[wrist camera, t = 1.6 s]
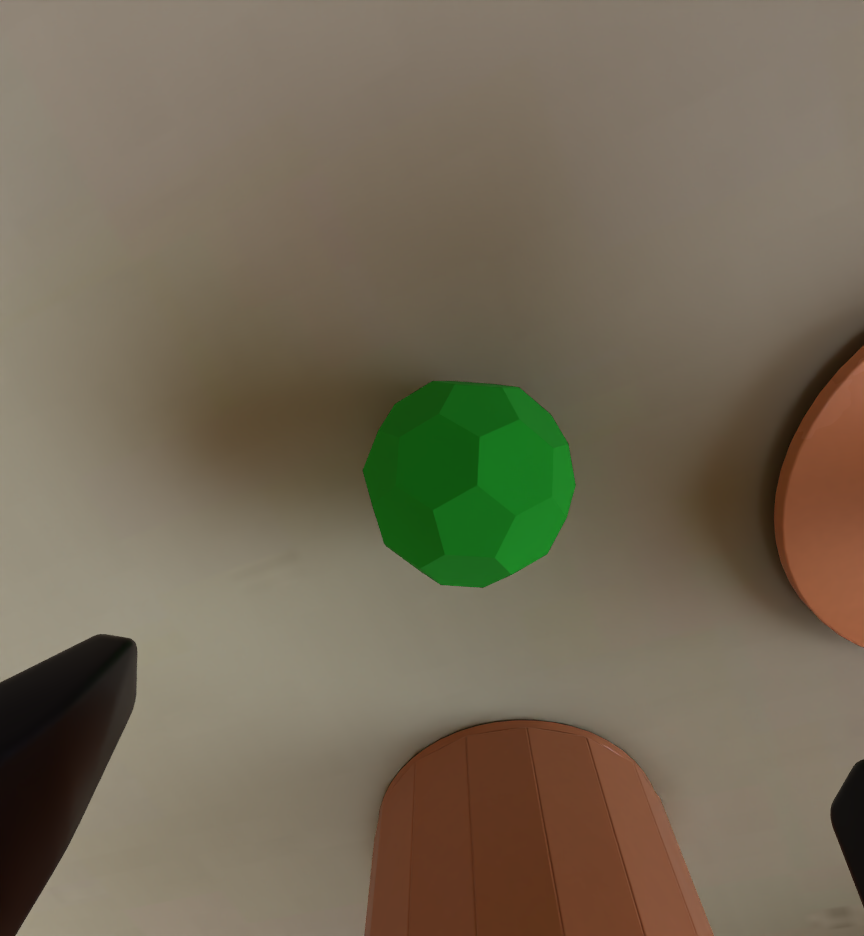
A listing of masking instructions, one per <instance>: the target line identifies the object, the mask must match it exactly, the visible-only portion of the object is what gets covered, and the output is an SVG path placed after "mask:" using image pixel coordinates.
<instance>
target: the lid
mask: <svg viewBox="0 0 864 936" xmlns="http://www.w3.org/2000/svg"><path fill="white" fill-rule="evenodd" d="M774 526H775V539H776V544H777V548H778V553H779V557H780V561H781V564H782V566H783V568H784V571H785V573H786V575H787V578H788V580H789V582H790V584H791V585H792V587H793V588H794V590H795V591H796V593H797V594H798V596H799V597H800V599H801V600H802V601H803V602H804V603H805V604H806V605H807V607H808V608H809V609H810V610H811V611H812V612H813V613H814V614H815V615H816V616H817V617H818V618H819V619H820V620H821V621H822V622H823V623H824V624H826V625H827V626H828V627H829V628H831V629H832V630H833V631H835V632H836V633H837V634H838V635H840V636H842V637H844V638H846V639H847V640H849V641H851V642H853V643H855V644H856V645H858V646H861V647H864V345H863V346H862V347H861V348H860V349H859V350H858V351H857V352H856V353H855V354H854V355H853V356H852V357H851V358H850V359H849V360H848V361H847V362H846V363H845V364H844V365H843V366H842V367H841V368H840V369H839V370H838V371H837V373H836V374H835V375H834V376H833V377H832V379H831V380H830V381H829V382H828V384H827V385H826V386H825V387H824V388H823V390H822V391H821V392H820V393H819V395H818V396H817V398H816V399H815V401H814V402H813V404H812V405H811V407H810V408H809V410H808V412H807V413H806V415H805V416H804V418H803V419H802V421H801V423H800V425H799V427H798V429H797V431H796V433H795V435H794V437H793V439H792V441H791V443H790V446H789V448H788V451H787V454H786V457H785V460H784V462H783V465H782V468H781V471H780V476H779V481H778V485H777V490H776V495H775V509H774Z"/></svg>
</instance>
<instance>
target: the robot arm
mask: <svg viewBox="0 0 864 936" xmlns="http://www.w3.org/2000/svg"><path fill="white" fill-rule="evenodd" d="M136 682H137V646H136V643H135V642H134V641H133V640H132V639H130V638H125V637H119V636H113V635H107V634H99V635H96V636H93V637H91V638H89V639H87V640H85V641H83V642H81V643H79V644H77V645H75V646H73V647H71V648H69V649H67V650H65V651H63V652H61V653H59V654H57V655H55V656H53V657H51V658H49V659H47V660H45V661H43V662H41V663H39V664H37V665H35V666H33V667H31V668H29V669H27V670H25V671H23V672H21V673H19V674H17V675H15V676H13V677H11V678H9V679H6V680H4V681H2V682H0V936H15V935H16V934H17V932H18V930H19V929H20V927H21V925H22V924H23V922H24V920H25V919H26V917H27V915H28V914H29V912H30V910H31V909H32V907H33V905H34V904H35V902H36V900H37V899H38V897H39V895H40V894H41V892H42V890H43V889H44V887H45V885H46V884H47V882H48V880H49V879H50V877H51V875H52V874H53V872H54V870H55V868H56V867H57V865H58V863H59V861H60V860H61V858H62V856H63V854H64V853H65V851H66V849H67V847H68V845H69V843H70V841H71V839H72V837H73V835H74V833H75V831H76V829H77V827H78V825H79V823H80V821H81V819H82V817H83V815H84V813H85V811H86V809H87V806H88V804H89V802H90V800H91V798H92V796H93V794H94V792H95V789H96V787H97V785H98V783H99V781H100V779H101V777H102V775H103V773H104V770H105V768H106V766H107V764H108V762H109V760H110V758H111V756H112V754H113V751H114V749H115V747H116V745H117V743H118V741H119V739H120V737H121V734H122V732H123V730H124V728H125V726H126V724H127V722H128V720H129V718H130V715H131V713H132V710H133V707H134V703H135V699H136ZM831 822H832V826H833V829H834V832H835V834H836V837H837V839H838V842H839V845H840V847H841V850H842V852H843V855H844V858H845V860H846V863H847V865H848V868H849V870H850V873H851V876H852V878H853V881H854V883H855V886H856V889H857V891H858V894H859V896H860V899H861V902H862V904H863V907H864V759H863V760H860V761H859V762H857V763H856V764H855V765H854V766H853V768H852V770H851V771H850V773H849V775H848V777H847V778H846V780H845V782H844V783H843V785H842V787H841V789H840V790H839V792H838V794H837V795H836V797H835V799H834V801H833V803H832V805H831Z"/></svg>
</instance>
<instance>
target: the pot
mask: <svg viewBox="0 0 864 936" xmlns="http://www.w3.org/2000/svg"><path fill="white" fill-rule="evenodd" d="M364 936H714V935H713V932H712V930H711V927H710V924H709V922H708V919H707V917H706V914H705V912H704V909H703V907H702V904H701V902H700V899H699V896H698V894H697V891H696V889H695V886H694V884H693V881H692V879H691V876H690V874H689V871H688V868H687V866H686V863H685V861H684V858H683V856H682V853H681V851H680V848H679V846H678V843H677V840H676V838H675V835H674V833H673V830H672V828H671V825H670V823H669V820H668V818H667V815H666V812H665V810H664V807H663V805H662V802H661V800H660V798H659V797H658V795H657V794H656V793H655V791H654V789H653V787H652V784H651V783H650V781H649V779H648V778H647V776H646V775H645V773H644V771H643V770H642V769H641V768H640V767H639V766H638V765H637V763H636V762H635V761H634V760H633V759H632V758H631V757H629V756H628V755H627V754H626V753H625V752H624V751H622V750H621V749H620V748H618V747H617V746H615V745H614V744H612V743H610V742H609V741H607V740H605V739H603V738H601V737H599V736H597V735H595V734H593V733H591V732H588V731H585V730H582V729H579V728H576V727H573V726H568V725H564V724H559V723H554V722H545V721H536V720H513V721H503V722H494V723H489V724H484V725H479V726H475V727H472V728H468V729H465V730H462V731H459V732H456V733H454V734H452V735H450V736H447V737H445V738H443V739H440V740H439V741H437V742H435V743H434V744H432V745H430V746H429V747H427V748H425V749H424V750H423V751H421V752H420V753H419V754H417V755H416V756H415V757H413V758H412V759H411V760H410V761H409V762H408V763H407V764H406V765H405V766H404V767H403V768H402V769H401V770H400V771H399V773H398V774H397V775H396V777H395V778H394V779H393V781H392V782H391V784H390V786H389V788H388V790H387V791H386V793H385V795H384V798H383V801H382V804H381V807H380V811H379V819H378V825H377V830H376V834H375V839H374V848H373V857H372V867H371V876H370V886H369V895H368V905H367V914H366V924H365V933H364Z"/></svg>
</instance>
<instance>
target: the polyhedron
mask: <svg viewBox="0 0 864 936" xmlns="http://www.w3.org/2000/svg"><path fill="white" fill-rule="evenodd" d="M363 474H364V477H365V481H366V484H367V488H368V492H369V495H370V499H371V503H372V506H373V509H374V513H375V516H376V519H377V522H378V525H379V529H380V532H381V535H382V538H383V541H384V544H385V545H386V546H387V547H388V548H390V549H391V550H392V551H394V552H395V553H396V554H398V555H399V556H400V557H402V558H403V559H404V560H406V561H407V562H409V563H410V564H411V565H413V566H414V567H415V568H417V569H418V570H419V571H421V572H422V573H424V574H425V575H427V576H428V577H430V578H431V579H433V580H434V581H436V582H437V583H439V584H440V585H450V586H465V587H480V588H484V587H486V586H488V585H490V584H492V583H495V582H497V581H499V580H501V579H503V578H506V577H508V576H510V575H512V574H514V573H515V572H517V571H519V570H521V569H522V568H524V567H526V566H528V565H529V564H531V563H533V562H534V561H536V560H538V559H540V558H541V557H543V556H545V555H546V554H548V552H549V550H550V548H551V546H552V544H553V542H554V541H555V539H556V537H557V535H558V533H559V531H560V529H561V527H562V526H563V524H564V522H565V520H566V518H567V515H568V511H569V508H570V504H571V500H572V497H573V493H574V489H575V486H576V484H575V478H574V473H573V467H572V461H571V456H570V450H569V445H568V442H567V441H566V439H565V437H564V436H563V434H562V432H561V431H560V429H559V427H558V426H557V424H556V422H555V421H554V419H553V417H552V416H551V414H549V413H548V412H547V411H546V410H545V409H544V408H543V407H541V406H540V405H539V404H538V403H537V402H536V401H534V400H533V399H532V398H531V397H530V396H529V395H527V394H526V393H525V392H524V391H523V390H522V389H520V388H519V387H513V386H505V385H497V384H486V383H472V382H458V381H432V382H430V383H428V384H427V385H425V386H423V387H422V388H420V389H419V390H417V391H415V392H414V393H412V394H410V395H409V396H407V397H406V398H404V399H402V400H401V401H399V402H397V403H396V404H395V405H394V406H393V408H392V409H391V411H390V413H389V414H388V416H387V417H386V419H385V421H384V422H383V424H382V425H381V427H380V429H379V430H378V432H377V435H376V438H375V440H374V443H373V445H372V448H371V450H370V453H369V456H368V458H367V461H366V463H365V466H364V468H363Z"/></svg>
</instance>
